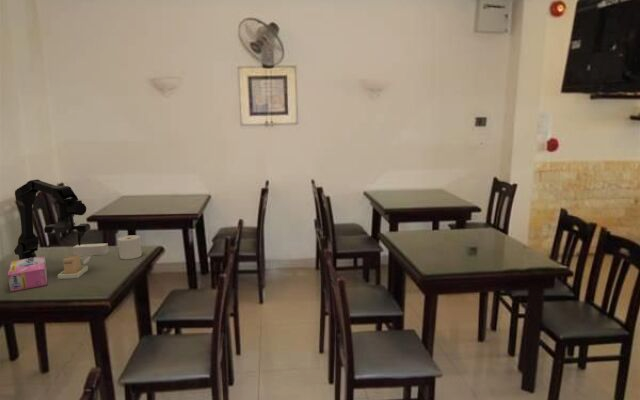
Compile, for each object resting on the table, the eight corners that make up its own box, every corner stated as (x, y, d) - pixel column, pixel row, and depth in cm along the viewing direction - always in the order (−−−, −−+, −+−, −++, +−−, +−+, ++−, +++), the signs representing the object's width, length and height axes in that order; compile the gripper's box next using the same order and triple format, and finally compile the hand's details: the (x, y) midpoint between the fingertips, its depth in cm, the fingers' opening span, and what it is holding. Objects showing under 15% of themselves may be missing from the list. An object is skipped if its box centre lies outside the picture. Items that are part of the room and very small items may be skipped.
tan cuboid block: (64, 276, 211) (62, 260, 209) (71, 271, 218) (69, 255, 217) (74, 276, 211) (72, 259, 210) (81, 270, 219) (79, 254, 217)
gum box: (47, 269, 222) (14, 275, 216) (45, 254, 221) (11, 259, 214) (47, 285, 202) (10, 292, 195) (44, 268, 200) (7, 274, 194)
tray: (58, 279, 209) (57, 274, 209) (69, 270, 220) (68, 266, 220) (78, 278, 210) (77, 273, 210) (88, 269, 221) (87, 265, 221)
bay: (60, 265, 228) (59, 256, 227) (78, 253, 247) (76, 244, 246) (94, 264, 229) (93, 254, 228) (108, 252, 248) (107, 243, 247)
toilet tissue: (137, 259, 235) (135, 240, 233) (113, 260, 235) (111, 241, 233) (145, 253, 245) (143, 234, 243) (122, 253, 245) (120, 235, 243)
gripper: (35, 218, 206) (40, 251, 209) (78, 217, 208) (82, 250, 211) (48, 212, 217) (52, 244, 220) (89, 211, 218) (92, 243, 222)
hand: (69, 245), depth 218 cm, fingers open, 9 cm apart
